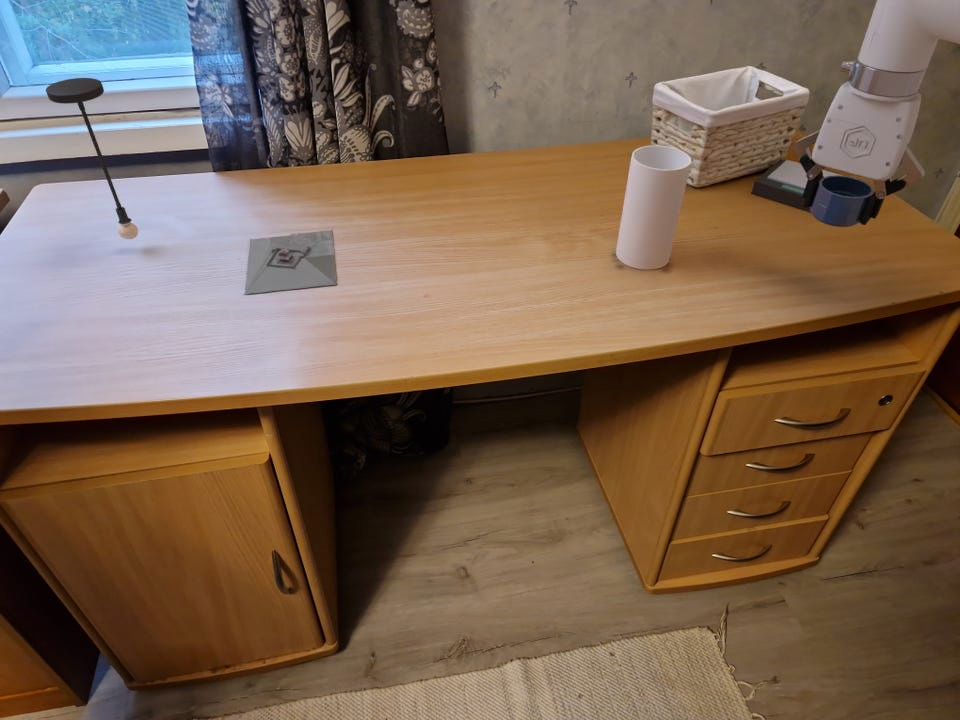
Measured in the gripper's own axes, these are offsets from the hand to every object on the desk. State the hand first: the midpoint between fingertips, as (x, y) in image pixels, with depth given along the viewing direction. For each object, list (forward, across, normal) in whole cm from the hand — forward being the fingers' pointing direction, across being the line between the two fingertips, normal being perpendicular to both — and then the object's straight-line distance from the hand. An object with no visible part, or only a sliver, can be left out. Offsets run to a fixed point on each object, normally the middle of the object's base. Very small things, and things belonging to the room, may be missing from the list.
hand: (837, 211), depth 93 cm
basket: (+11, -29, +28) cm, 41 cm away
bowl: (+1, 0, 0) cm, 1 cm away
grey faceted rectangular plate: (+10, -68, -45) cm, 82 cm away
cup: (+11, -23, -10) cm, 27 cm away
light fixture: (+10, -84, -60) cm, 103 cm away
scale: (+11, -12, +27) cm, 31 cm away
